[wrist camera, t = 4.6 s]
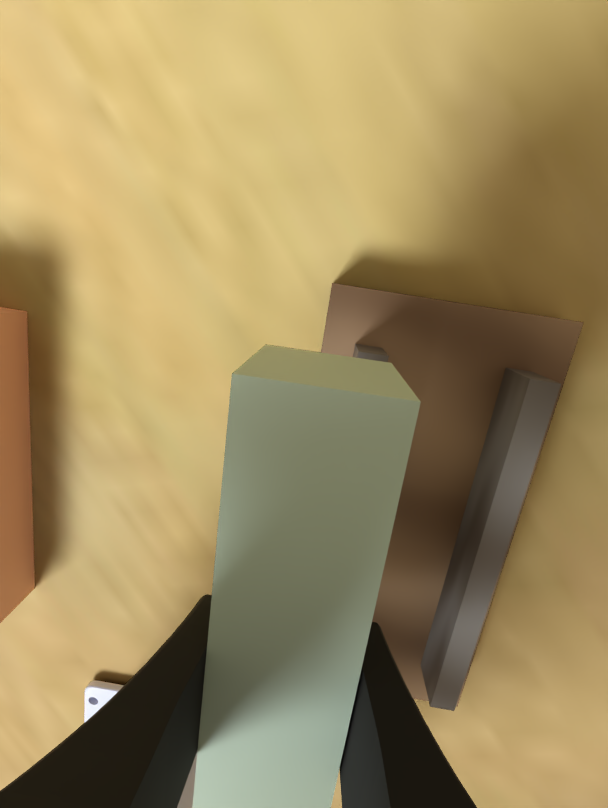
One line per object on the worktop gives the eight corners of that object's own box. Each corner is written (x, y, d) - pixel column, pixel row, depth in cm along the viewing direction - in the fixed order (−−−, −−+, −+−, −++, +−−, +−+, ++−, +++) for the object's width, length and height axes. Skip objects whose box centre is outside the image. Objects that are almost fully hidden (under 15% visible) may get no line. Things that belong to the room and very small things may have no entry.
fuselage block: (308, 781, 14) (301, 941, 10) (218, 765, 14) (182, 919, 11) (391, 362, 10) (420, 402, 7) (265, 344, 10) (232, 373, 7)
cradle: (449, 677, 21) (470, 751, 18) (273, 646, 22) (262, 713, 18) (561, 319, 16) (620, 327, 13) (332, 283, 17) (332, 282, 13)
